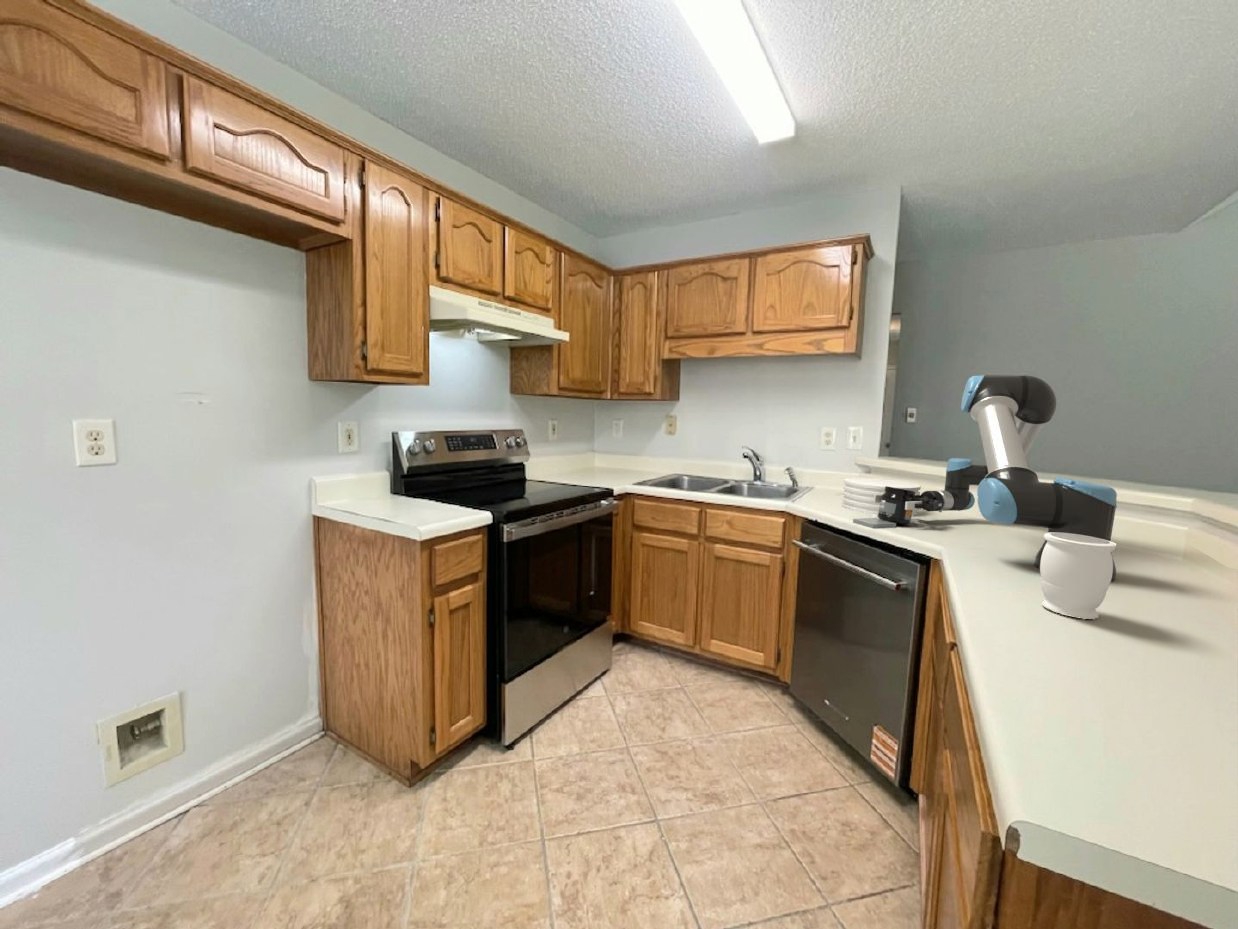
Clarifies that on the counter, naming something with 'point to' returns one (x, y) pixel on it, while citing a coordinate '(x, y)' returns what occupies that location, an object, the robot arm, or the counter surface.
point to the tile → (874, 523)
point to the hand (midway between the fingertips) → (889, 502)
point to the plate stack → (870, 493)
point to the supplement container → (895, 505)
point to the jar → (1075, 573)
